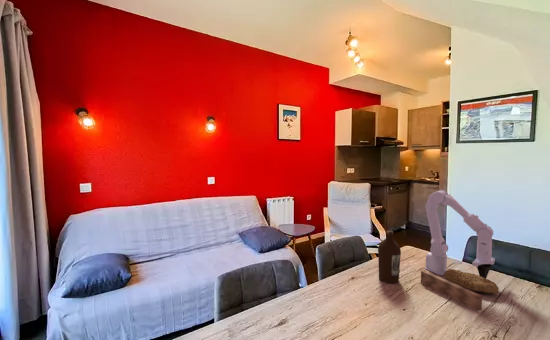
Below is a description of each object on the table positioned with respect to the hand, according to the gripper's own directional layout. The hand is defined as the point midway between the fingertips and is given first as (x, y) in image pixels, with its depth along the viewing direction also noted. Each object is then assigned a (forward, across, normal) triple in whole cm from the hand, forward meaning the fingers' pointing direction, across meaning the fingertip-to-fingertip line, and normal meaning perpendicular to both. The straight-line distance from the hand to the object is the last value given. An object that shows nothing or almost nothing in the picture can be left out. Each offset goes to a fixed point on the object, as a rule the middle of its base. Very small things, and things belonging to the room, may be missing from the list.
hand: (483, 278), depth 131 cm
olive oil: (+3, -39, +22) cm, 45 cm away
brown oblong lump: (+3, -9, 0) cm, 10 cm away
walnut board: (+3, -26, 0) cm, 26 cm away
